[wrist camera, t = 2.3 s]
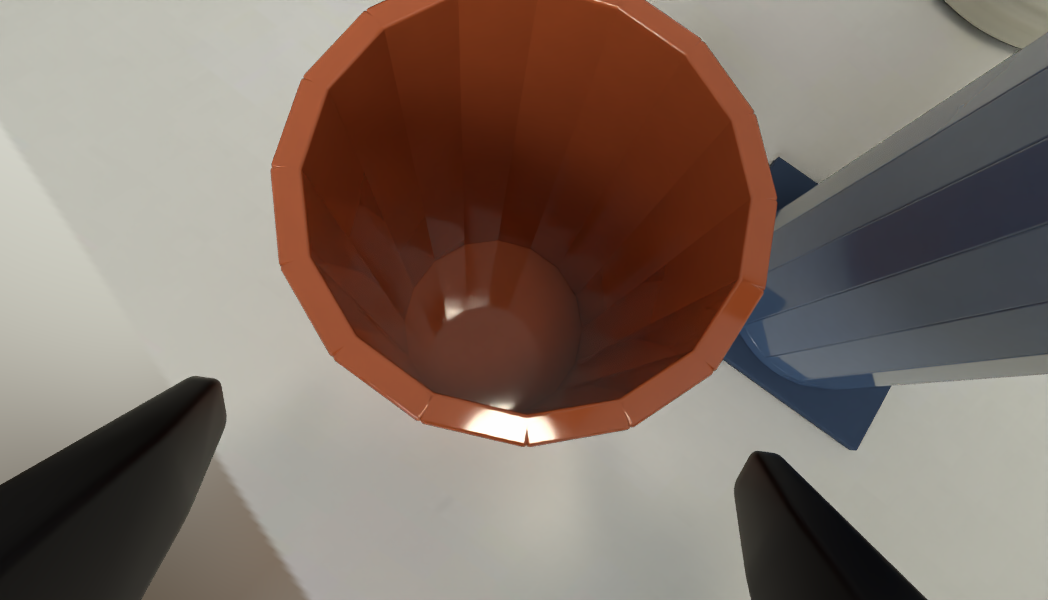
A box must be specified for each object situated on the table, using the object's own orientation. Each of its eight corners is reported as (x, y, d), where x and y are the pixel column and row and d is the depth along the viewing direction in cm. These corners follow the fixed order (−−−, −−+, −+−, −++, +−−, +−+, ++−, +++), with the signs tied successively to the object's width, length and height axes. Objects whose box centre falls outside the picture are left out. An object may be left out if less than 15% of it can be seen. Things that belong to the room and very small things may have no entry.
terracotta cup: (515, 466, 20) (601, 558, 7) (356, 348, 20) (156, 229, 7) (623, 308, 21) (858, 144, 8) (473, 201, 21) (480, -116, 9)
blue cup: (850, 426, 21) (1467, 443, 8) (694, 315, 21) (1044, 158, 8) (931, 278, 22) (1560, 91, 9) (784, 176, 22) (1200, -141, 10)
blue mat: (849, 450, 21) (857, 450, 20) (668, 320, 21) (671, 319, 21) (942, 278, 22) (951, 275, 22) (773, 160, 23) (778, 156, 22)
